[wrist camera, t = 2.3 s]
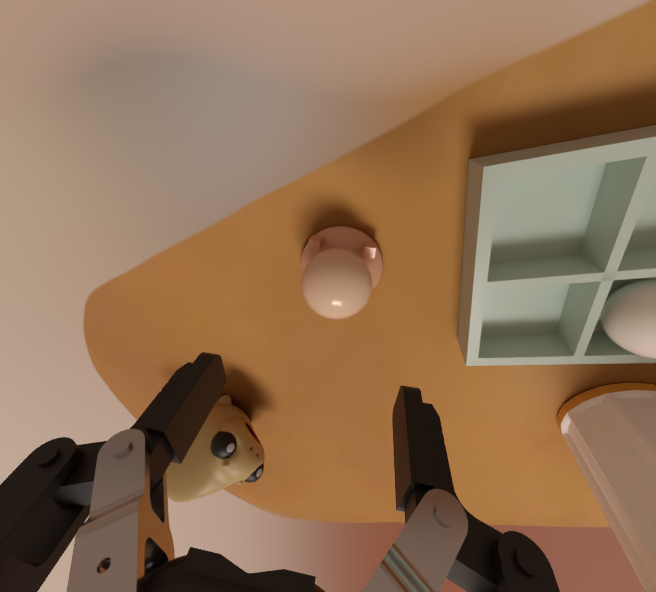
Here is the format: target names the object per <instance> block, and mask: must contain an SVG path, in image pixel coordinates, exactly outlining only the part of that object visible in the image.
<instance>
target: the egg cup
mask: <svg viewBox="0 0 656 592" xmlns="http://www.w3.org/2000/svg"><path fill="white" fill-rule="evenodd" d="M332 248H342V249H346V250H350V251H352V252H354V253H355V254H357V255H358V256H360V257H361V258H362V259H363V260H364V262H365V263H366V264H367V266H368V268H369V270H370V273H371V277H372V290H373V289H374V288H375V287H376V286H377V284H378V283H379V280H380V278H381V275H382V255H381V252H380V250H379V248H378V246H377V244H376V243H375V241H374V240H373V239H372V238H371V237H370V236H369V235H368V234H366V233H365V232H363V231H361V230H359V229H357V228H354V227H351V226H345V225H337V226H331V227H327V228H324V229H322V230H320V231H319V232H317V233H316V234H315V235H311V237H310V239H309V241H308V243H307V245H306V246H305V248H304V251H303V253H302V258H301V268H302V272H303V271H304V269H305V267H306V265H307V263H308V262H309V261H310V260H311V259H312V258H313V257H314V256H315V255H316V254H318V253H320V252H322V251H324V250H327V249H332ZM366 304H367V303H366Z"/></svg>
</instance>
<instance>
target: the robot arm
mask: <svg viewBox="0 0 656 592" xmlns="http://www.w3.org/2000/svg"><path fill="white" fill-rule="evenodd" d="M225 381H226V376H225V372H224V367H223V363H222V359H221V356H220V355H217V354H211V353H205V352H203V353H201V354H200V355H199V356H198V357H197V359H196V360H195V361H194V363H189V362H188V363H187V364H185V365H184V366H182V367H181V368H180V369H178V370H177V371H176V372H175V373H174V375H173V376H172V377H171V378H170V380H169V382H168V383H167V384H166V385H165V386H164V387H163V389H162V391H161V392H159V394H158V395H157V396H156V397H155V399H154V400H153V401H152V402H151V404H150V405H149V406H148V408H147V409H146V410H145V411H144V413H143V414H142V415H141V416H140V418H139V419H138V420H137V421H136V423H135V424H134V425H133V426H132V427H131V428H130V429H128V430H124V431H121V432H119V433H117V434H115V435H114V436H112V437H111V438H110V439H109V440H108V441H103V442H96V443H90V444H83V445H77V444H76V443H75V442H74V441H73V440H72V439H70V438H65V437H62V438H57V439H53V440H51V441H49V442H46V443H45V444H43V445H41V446H40V447H38V448H37V449H35V450H34V451H33V452H32V453H31V454H30V455H29V456H28V457H27V458H26V459H25V460H24V461H23V462H22V463H21V464H20V465H19V466H18V467H17V468H16V469H15V470H14V471H13V472H12V473H11V474H10V475H9V476H8V478H7V479H6V480H5V481H4V482H3V483H2V484H1V485H0V592H37V591H38V590H39V589H40V587H41V586H42V584H43V582H44V581H45V580H46V578H47V577H48V575H49V574H50V572H51V570H52V569H53V568H54V566H55V565H56V563H57V562H58V560H59V559H60V557H61V556H62V554H63V553H64V551H65V550H66V548H67V547H68V545H69V544H70V542H71V541H72V539H73V538H74V536H75V535H76V538H75V544H74V550H73V556H72V562H71V568H70V574H69V581H68V587H67V592H325V591H324V590H323V589H321V588H320V587H319V586H317V585H316V584H315V577H314V576H310V575H306V574H302V573H298V572H293V571H289V570H285V569H282V570H275V571H266V572H259V573H246V572H245V571H243V570H242V569H240V568H239V567H238V566H236V565H234V564H233V563H232V562H230V561H229V560H228V559H226V558H225V557H224V556H222V555H221V554H217V553H213V552H209V551H205V550H201V549H197V548H192V547H190V549H189V551H188V554H187V555H186V556H182V557H178V558H175V556H174V545H173V539H172V535H171V532H170V528H169V520H168V519H169V518H168V499H167V479H166V470H167V468H168V466H169V465H170V463H171V462H173V463H178V464H181V463H182V461H183V460H184V458H185V456H186V454H187V452H188V451H189V449H190V447H191V445H192V444H193V442H194V440H195V438H196V437H197V435H198V433H199V431H200V430H201V428H202V426H203V424H204V422H205V421H206V419H207V417H208V415H209V414H210V412H211V410H212V408H213V407H214V405H215V403H216V401H217V400H218V398H219V396H220V394H221V393H222V391H223V389H224V386H225ZM393 444H394V467H395V489H396V510H398V511H403V512H405V526H404V528H403V529H402V531H401V532H400V534H399V535H398V537H397V539H396V540H395V542H394V543H393V545H392V547H391V548H390V550H389V551H388V553H387V554H386V556H385V557H384V559H383V560H382V562H381V564H380V565H379V567H378V568H377V569H376V571H375V573H374V574H373V576H372V577H371V579H370V580H369V582H368V584H367V585H366V587H365V588H364V590H363V591H362V592H440V590H441V588H442V586H443V584H444V582H445V580H446V578H448V579H449V580H451V581H452V582H453V583H455V584H457V585H458V586H459V587H461V588H462V589H464V590H465V591H467V592H560V591H559V588H558V585H557V582H556V579H555V576H554V573H553V570H552V568H551V565H550V563H549V561H548V559H547V558H546V556H545V554H544V553H543V552H542V550H541V549H540V548H539V547H538V546H537V545H536V544H535V543H534V542H533V541H532V540H531V539H530V538H528V537H527V536H525V535H523V534H521V533H518V532H515V531H508V532H505V533H504V534H502V533H500V532H499V531H497V530H495V529H494V528H492V527H490V526H488V525H487V524H485V523H483V522H481V521H480V520H478V519H477V518H475V517H474V516H472V515H471V514H470V513H469V512H468V511H467V510H466V509H465V508H464V507H463V505H462V504H461V503H460V501H459V499H458V498H457V496H456V493H455V491H454V487H453V482H452V477H451V472H450V467H449V462H448V457H447V452H446V447H445V444H444V437H443V433H442V427H441V422H440V417H439V415H438V414H437V412H436V410H435V409H434V407H433V405H432V404H427V403H422V396H421V391H420V389H419V388H413V387H407V386H401V387H400V390H399V393H398V396H397V399H396V402H395V405H394V409H393ZM88 516H89V518H88V520H87V521H86V522H85V520H86V519H87V517H88ZM84 522H85V523H84ZM76 533H77V534H76Z"/></svg>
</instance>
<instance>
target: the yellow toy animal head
mask: <svg viewBox="0 0 656 592" xmlns="http://www.w3.org/2000/svg"><path fill="white" fill-rule="evenodd" d="M264 458H265V455H264V449H263V446H262V444H261V443H260V441H259V439H258V438H257V436H256V434H255V433H254V431H253V427H252V423H251V421H250V420H249V418H248V417H247V415H246V414H245V413H244V412H243V411H242V410H241V409H239V408H237V407H236V406H233V405H232V404H231V397H230V396H228V395H223V396H222V397H220V398H219V400H218V401H217V402H216V403H215V405H214V407H213V408H212V410H211V412H210V414H209V415H208V417H207V419H206V421H205V422H204V424H203V426H202V428H201V430H200V431H199V433H198V435H197V437H196V438H195V440H194V442H193V444H192V445H191V447H190V449H189V451H188V452H187V454H186V456H185V458H184V460H183V461H182V463H181V464H178V463H173V462H171V463H170V465H169V466H168V468H167V470H166V479H167V497H169V498H170V499H171V500H173V501H175V502H185V501H190V500H194V499H197V498H201V497H204V496H207V495H210V494H212V493H215V492H217V491H219V490H222V489H224V488H226V487H228V486H230V485H231V484H234V483H236V484H238V485H241V484H242V482H243V481H246V482H255V481H256V480H258V479H259V478H260V477H261V475H262V473H263V469H264Z"/></svg>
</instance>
